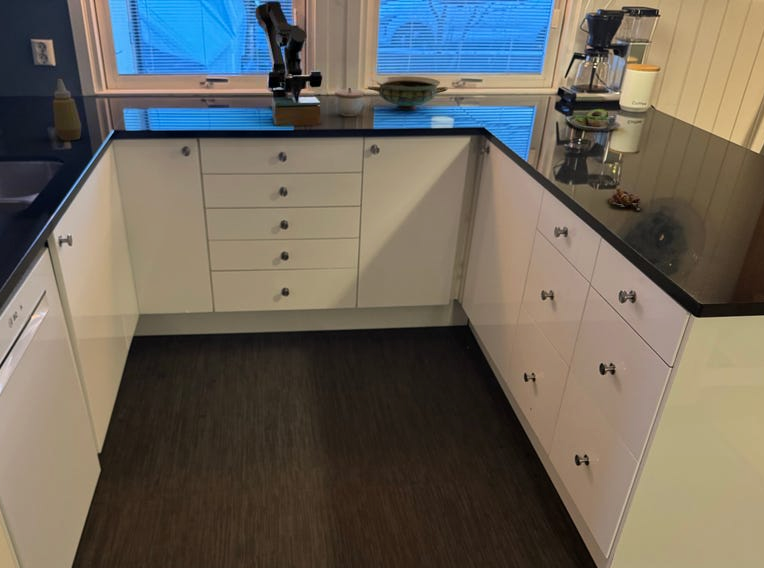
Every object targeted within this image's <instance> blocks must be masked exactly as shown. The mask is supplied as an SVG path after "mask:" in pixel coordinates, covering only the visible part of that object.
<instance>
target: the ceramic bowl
mask: <svg viewBox="0 0 764 568" xmlns="http://www.w3.org/2000/svg"><path fill="white" fill-rule="evenodd" d="M375 82H376V84H377V85H379V86H372V85H371V86H367V89H368V90H370V91H375V92H378V94H379V96H380V98H382V99H383V100H385V101H386V102H388V103H390V104H393V105H397V106H396V107H395V108H396V109H397V110H401V111H416V110H417V109H418V107H417V106H420V105H423V104H426V103H428V102H431V101H432V100H433V99H435V97H436V96H437V95H438V94H440V93H444V92H446V91H448V89H449V88H448V87H447V86H441V87H438V86H439V85H441V81H440V80H438V79H434V78H431V77H430V78H429V77H423V76H405V75H404V76H403V75H402V76H399V75H398V76H387V77H386V76H385V77H380V78H378V79H377V80H376V81H375Z"/></svg>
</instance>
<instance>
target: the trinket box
mask: <svg viewBox="0 0 764 568" xmlns="http://www.w3.org/2000/svg"><path fill="white" fill-rule="evenodd" d="M334 97H335V98H334V99H335V107H336V110H337V111H338V112H339V113H340V115H341V116H344V117H356V116H358V114H359V113H360V112H361V111H362V109H363V107H364V101H365V91H362V90H359V89H352V87H348V89H340V90H336V91H335V92H334Z"/></svg>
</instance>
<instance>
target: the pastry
mask: <svg viewBox="0 0 764 568" xmlns="http://www.w3.org/2000/svg"><path fill="white" fill-rule="evenodd" d="M633 194H634V193H630V192H628V191H627V190H621V188H619V187H617V188H616V192H615V193H614V194H613V196H611V197H610V198H608V203H609V204H610V205H615V204H617V205H618V204H622V205H626V206H631V204H632V203H637V204H636V205H633V204H632V205H633V207H635V208H634V211H636V212H639V211H640V210H641V209H640V206H639V204H638V203H639V202H640V197H639V196H637V194H635V195H633ZM611 198H612V199H611ZM611 203H612V204H611ZM629 204H630V205H629ZM617 205H616V206H617ZM626 206H620V207H621V208H623V207H626Z"/></svg>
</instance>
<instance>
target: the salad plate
mask: <svg viewBox="0 0 764 568" xmlns="http://www.w3.org/2000/svg"><path fill="white" fill-rule="evenodd" d="M565 121H566V123H567V124H568V125H569V126H571V127H572V128H575V129H578V130H580V131H585V132H608V131H613V130H615V129H617V128H620V127H621V123H619V122H617V121H616V118H615V117H612V116H609V112H608V110H606V109H604V108H595V109H591V110H588V111H587V112H586V114H585V115H579V114H575V115H570V116H567V117H566V118H565Z"/></svg>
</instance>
